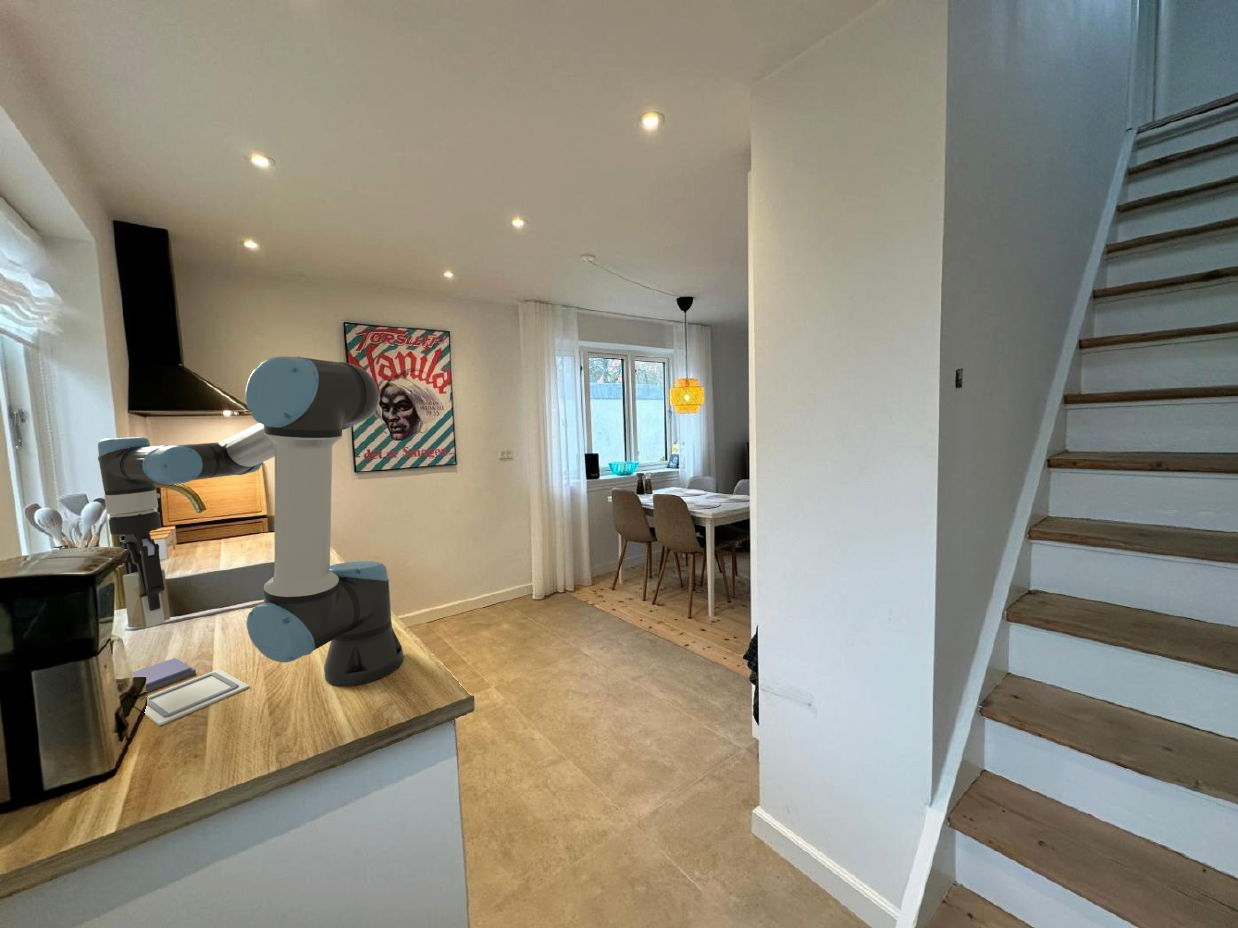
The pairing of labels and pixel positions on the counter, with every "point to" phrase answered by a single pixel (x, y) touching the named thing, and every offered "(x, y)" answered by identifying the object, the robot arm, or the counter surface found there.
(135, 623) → the box
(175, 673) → the pad
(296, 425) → the robot arm
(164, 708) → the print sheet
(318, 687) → the counter surface
